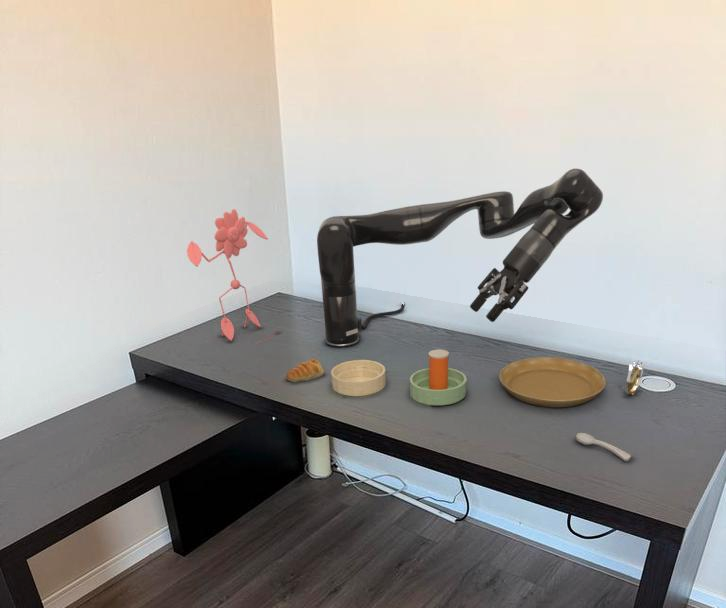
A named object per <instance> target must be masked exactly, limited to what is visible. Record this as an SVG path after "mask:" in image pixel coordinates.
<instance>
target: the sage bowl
mask: <svg viewBox="0 0 726 608" xmlns="http://www.w3.org/2000/svg"><path fill="white" fill-rule="evenodd" d="M467 383H468V379H467V375H466V374H465V373H463V372H462V371H461V370H458V369H456V368H455V369H454V368H451V367H448V389H444V390H432V389H429V367H427V368H422V369H420V370H417V371H415V372H413V373H412V374H411V375H410V377H409V396H410V397H411V399H413V400H414V402H417V403H420V404H423V405H427V406H446V405H453V404H456V403H459V402H461V401H462V400H463V399H464V398H465V397H466V395H467V385H468V384H467Z"/></svg>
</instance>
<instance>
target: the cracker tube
mask: <svg viewBox="0 0 726 608" xmlns="http://www.w3.org/2000/svg"><path fill="white" fill-rule="evenodd" d="M449 356H450V352H449V351H448V350H446V349H432V350H430V351H429V352H428V368H429V389H432V390H444V389H448V368H449Z"/></svg>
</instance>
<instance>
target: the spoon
mask: <svg viewBox="0 0 726 608" xmlns="http://www.w3.org/2000/svg"><path fill="white" fill-rule="evenodd" d="M575 439H576V441H577V442H578V443H579V444H582V445H584V446H590V445H597V446H601V447H603V448H605V449H606V450H608V451H610V452H611V453H613V454H615V455H616V456H617V457H618V458H620V459H621V460H622V461H624V462H628V461H630V460H631V458H632V456H631V454H629V453H628V452H626V451H624V450H623V449H620V448H619V447H616V446H614V445H612V444H610V443H607V442H605V441H603V440H600V439H596V438H594V436H593V435H590V434H589V433H584V432H578V433H577V434H576V435H575Z"/></svg>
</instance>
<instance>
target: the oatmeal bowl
mask: <svg viewBox="0 0 726 608" xmlns="http://www.w3.org/2000/svg"><path fill="white" fill-rule="evenodd" d="M386 376H387V375H386V367H385V366H384V364H382V363H380V362H378V361H374V360H369V359H353V360H348V361H344V362H341V363H338V364H336V365H335V366H333V368H331V371H330V378H331V388H332V390H333V392H336V393H337V394H340V395H342V396H349V397H364V396H370V395H373V394H377V393H379V392H380V391H382V390H383V389H385V387H386V385H387V379H386V378H387V377H386Z"/></svg>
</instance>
